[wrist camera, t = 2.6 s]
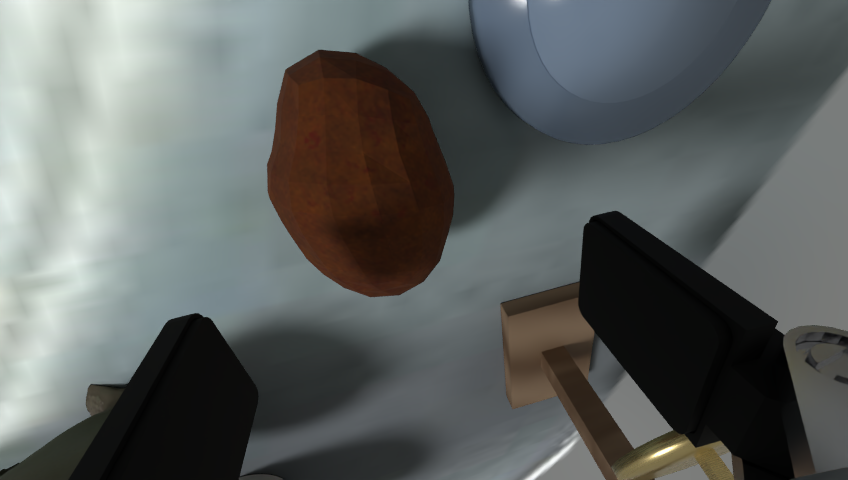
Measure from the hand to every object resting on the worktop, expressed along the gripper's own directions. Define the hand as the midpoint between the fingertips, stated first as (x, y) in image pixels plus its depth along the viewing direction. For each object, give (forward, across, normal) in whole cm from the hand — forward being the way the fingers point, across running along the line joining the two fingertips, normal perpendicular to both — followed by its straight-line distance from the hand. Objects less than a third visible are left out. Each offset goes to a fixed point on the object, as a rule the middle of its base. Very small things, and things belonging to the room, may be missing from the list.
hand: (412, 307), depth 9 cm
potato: (+9, +1, -1) cm, 9 cm away
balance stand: (+10, -8, +15) cm, 20 cm away
